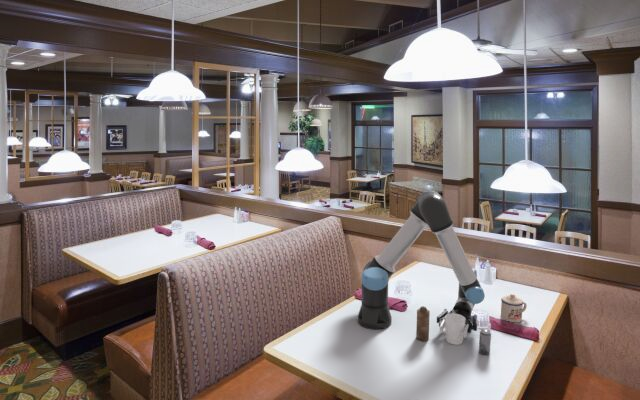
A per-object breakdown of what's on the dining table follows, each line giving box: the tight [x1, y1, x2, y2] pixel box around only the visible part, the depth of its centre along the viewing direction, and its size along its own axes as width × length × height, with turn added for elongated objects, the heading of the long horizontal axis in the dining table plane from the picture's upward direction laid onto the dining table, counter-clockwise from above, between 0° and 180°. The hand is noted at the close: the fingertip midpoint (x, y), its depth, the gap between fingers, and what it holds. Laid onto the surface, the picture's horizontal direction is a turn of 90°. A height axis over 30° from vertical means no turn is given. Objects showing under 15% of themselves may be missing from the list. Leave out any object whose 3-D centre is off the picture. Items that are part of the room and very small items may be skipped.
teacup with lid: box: [500, 293, 528, 324], centre depth 187 cm, size 12×9×12 cm
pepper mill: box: [415, 305, 431, 342], centre depth 171 cm, size 5×5×14 cm
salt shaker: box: [478, 328, 492, 356], centre depth 160 cm, size 4×4×9 cm
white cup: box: [444, 314, 466, 346], centre depth 169 cm, size 8×8×10 cm
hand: (452, 331), depth 165 cm, fingers open, 9 cm apart
